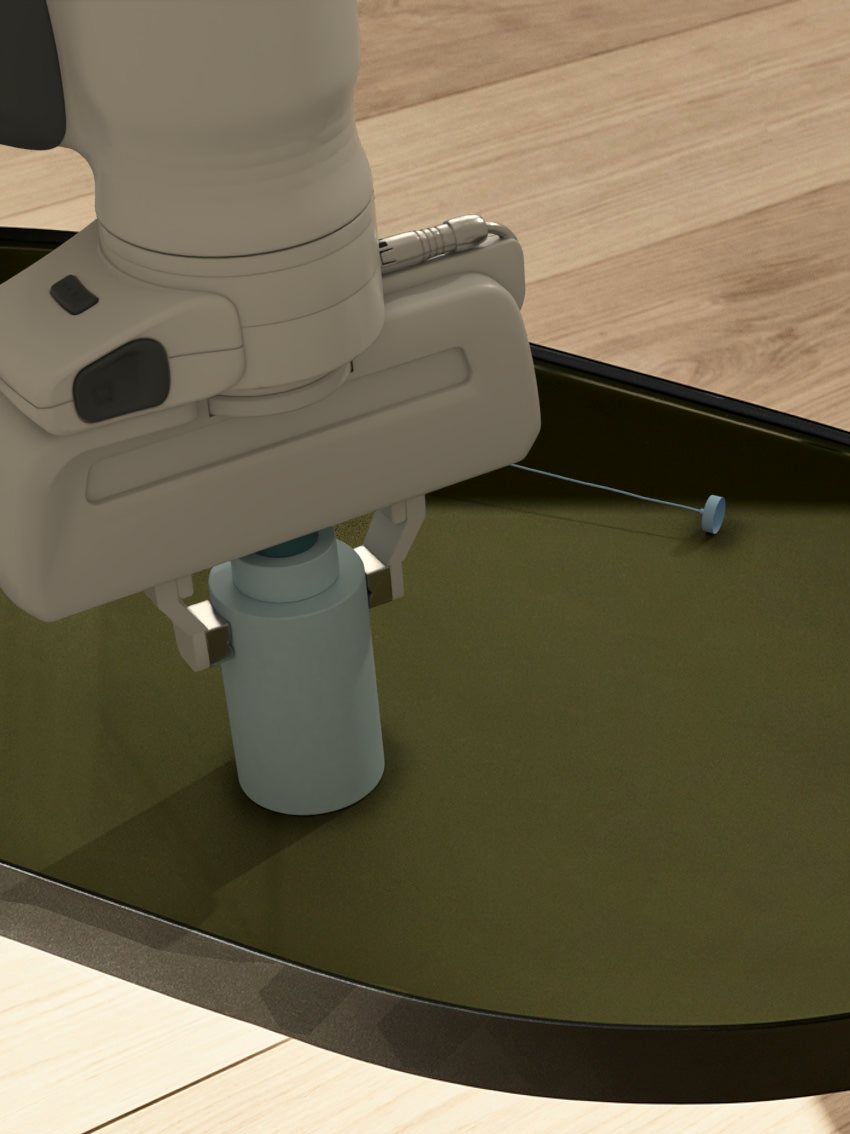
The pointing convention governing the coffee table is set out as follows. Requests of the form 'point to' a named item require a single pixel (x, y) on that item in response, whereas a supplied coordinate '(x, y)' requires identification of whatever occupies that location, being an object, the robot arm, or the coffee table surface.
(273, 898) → the coffee table surface
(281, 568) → the bottle
